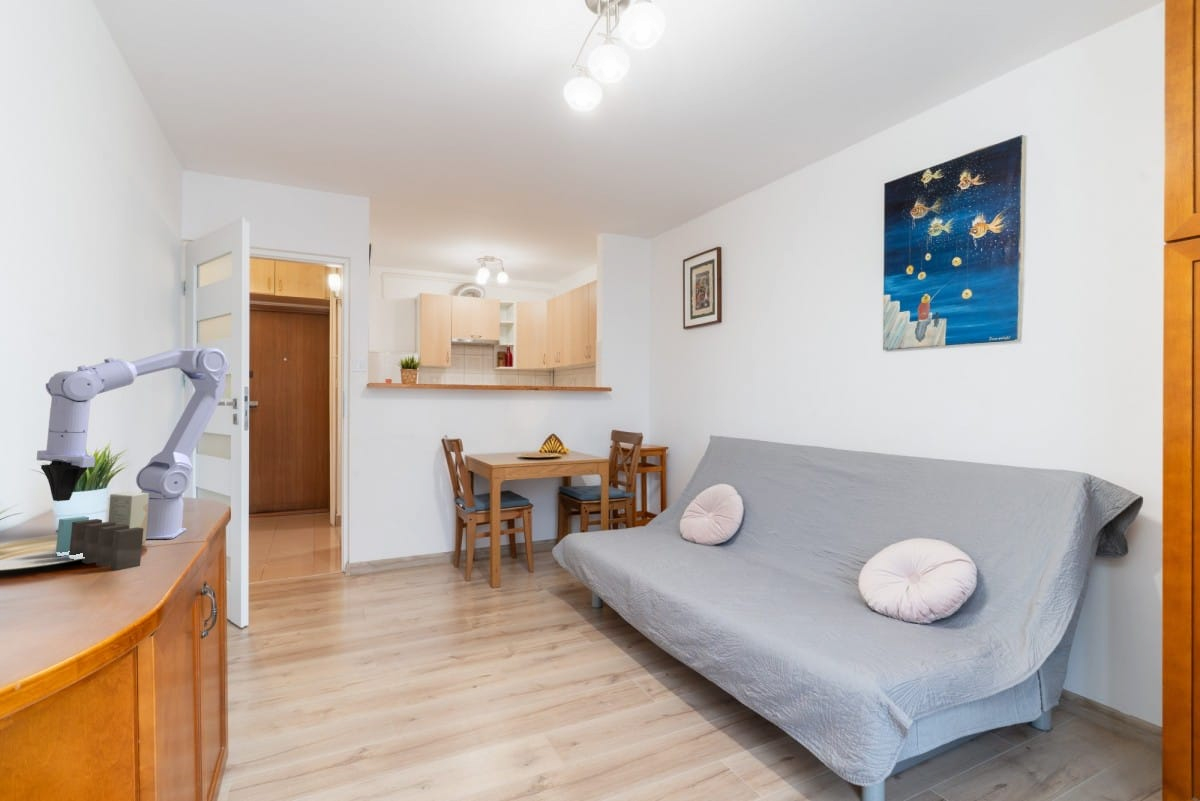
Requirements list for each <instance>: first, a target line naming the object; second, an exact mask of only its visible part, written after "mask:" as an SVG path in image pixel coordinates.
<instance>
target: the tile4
mask: <svg viewBox="0 0 1200 801" xmlns="http://www.w3.org/2000/svg"><path fill="white" fill-rule="evenodd" d="M123 529H129V525H124V524H123V525H116V526H109V527H102V528H100V530H99V540H98V550H97V561H96V562H95V566H96V567H99V568H104V567H110V566H111V556H112V545H113V535H114V531H116V530H123Z"/></svg>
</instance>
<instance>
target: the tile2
mask: <svg viewBox="0 0 1200 801" xmlns="http://www.w3.org/2000/svg"><path fill="white" fill-rule="evenodd" d="M96 523H103V520H102V519H99V518H94V519H89V520H84V521H76V522H72V531H71V541H70V552H69V555H76V554H80V553H83V549H84V539H85V529H86V525H89V524H96Z"/></svg>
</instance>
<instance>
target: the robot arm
mask: <svg viewBox="0 0 1200 801" xmlns="http://www.w3.org/2000/svg"><path fill="white" fill-rule="evenodd" d="M103 361H104V362H101V363H97V364H93V365H89V366H86V365H80V366H77V370H76V371H73V370H72V371H71V370H64V371H63V370H62V371H57V373H56V372H55V374H53V376H51V377H50V378H49V380H48V382H47V383H45V390H46V392H47V393H48V394H49V396H50V397H51V402H50V409H49V410H50V411H49V420H48V430H47V441H46V442H47V443H46V450H43V449H42V450H37V453H36V461H40V462H41V461H46V462H50V463H49V464H42V465H40V469H41V470H42V472H43V473H44V474H45V477H46V479H47V482H48V484H49V488H50V493H51V498H52V500H53V501H54V502H65V501H70V500H71V498H72V495H73V493H74V491H75V488H76V486H77V484H78V482H79V480H80V479H81V477H82V476H83V475H84V474H85V473H86V471H87V470H88V468H95V463H96V457H95V456H91V455H89V454H87V453H86V452H87V443H88V442H87V440H88V430H89V421H90V420H89V419H90V410H91V409H90V407H91V400H92V399H94V398H95V397H96V396H97V395H100V394H102V393H106V392H110V391H114V390H116V389H118V388H123V387H124V388H125V387H126V386H130V385H132V384H133V383H134V382H135V380H136V378H137V377H139V376H145V375H148V374H152V373H157V372H161V371H164V370H168V369H179V370H180V371H181V372H182V373H183V374H184V375H185V376H186V378H187V379H189V381H190V382H191V383H192V386H193V388H194V393H193V394H192V396H191V397H190V400H189V401H188V403H187V404H186V407H185V409H184V411H183V412H182V414H181V416H180V418H179V420H178V422H177V423H176V426H175V427H174V429H173V430H172V432H171V434H170V436H169V438H168V440H167V441H166V443H165V445H164V447H163V448H162V451H160V452H158V453H157V454H156V455H153V456H152V457H151V458H150V460H149V462H148V463H147V464H146V465H145V466H144V467H142V468H141V469H140V470H139V471H138V473H137V475H136V477H135V483H136V486H137V487H138V488H139V489H140V490H141V492H140V493H149V499H148V514H147V529H146V540H151V539H153V540H156V539H158V540H163V539H166V540H167V539H168V540H169V539H171V540H172V539H175V538H176V537H177V536H179V535H181V534H182V533H184V532H186V531H187V528H186V527H183V516H184V506H185V503H184V500H183V499H182V497H183V493H184V492H186V491H187V490H188V488H189V487H190V486H189V485H190V482H191V480H190V479H191V477H190V476H191V474H192V472H193V469H194V467H193V464H192V462H191V459H190V458H191V457H192V455H193V453H194V451H195V449H196V446H197V445H198V443H199V441H200V439H201V437H202V435H203V434H204V432H205V430H206V428H207V426H208V425H209V422H210V420H211V419H212V417H213V415H214V412H215V411H216V410H217V408H218V406H219V403H220V402H221V400H222V398H223V395H224V394H225V391H226V377H227V376H226V374H227V371H228V369H229V367H230V363H229V361H228V359H227V356H226V355H225V353H224V352H223V351H222V350H221V349H219V348H216V347H192V346H185V347H183V348H174V349H170V350H169V349H168V350H167V351H163V352H160V353H157V354H154V355H149V356H146V357H143V358H140V359H136V360H133V361H130V362H128V361H126V360H124V359H121V358H118V359H116V358H115V357H108V358H104V360H103Z"/></svg>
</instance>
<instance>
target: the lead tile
mask: <svg viewBox="0 0 1200 801" xmlns="http://www.w3.org/2000/svg"><path fill="white" fill-rule="evenodd" d="M89 518H90V517H89V516H85V515H84V516H75V517H74V516H73V517H67V518H59V519H58V524H57V525H58V526H57V527H58V528H57V538H56V547H55V553H56V552H60V553H62V552H68V551H70V541H71V531H72V522H76V521H84V520H90V519H89Z"/></svg>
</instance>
